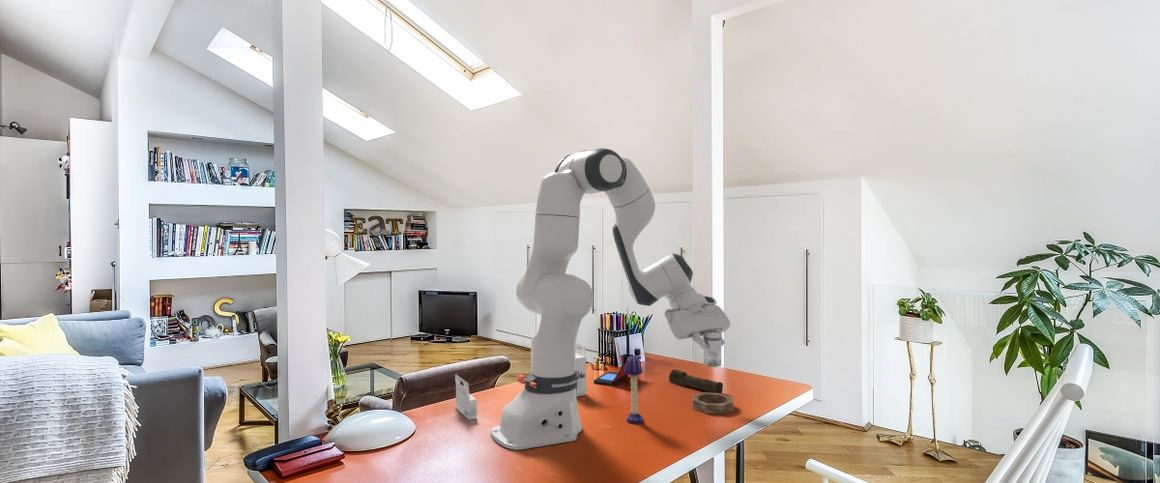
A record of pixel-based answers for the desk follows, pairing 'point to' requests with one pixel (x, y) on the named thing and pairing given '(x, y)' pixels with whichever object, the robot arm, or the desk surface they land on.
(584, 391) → the ink box
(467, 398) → the ink cartridge box
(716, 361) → the cylinder
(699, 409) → the walnut ring
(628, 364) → the toy lamp
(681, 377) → the hand tool
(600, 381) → the handheld game console
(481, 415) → the desk surface
